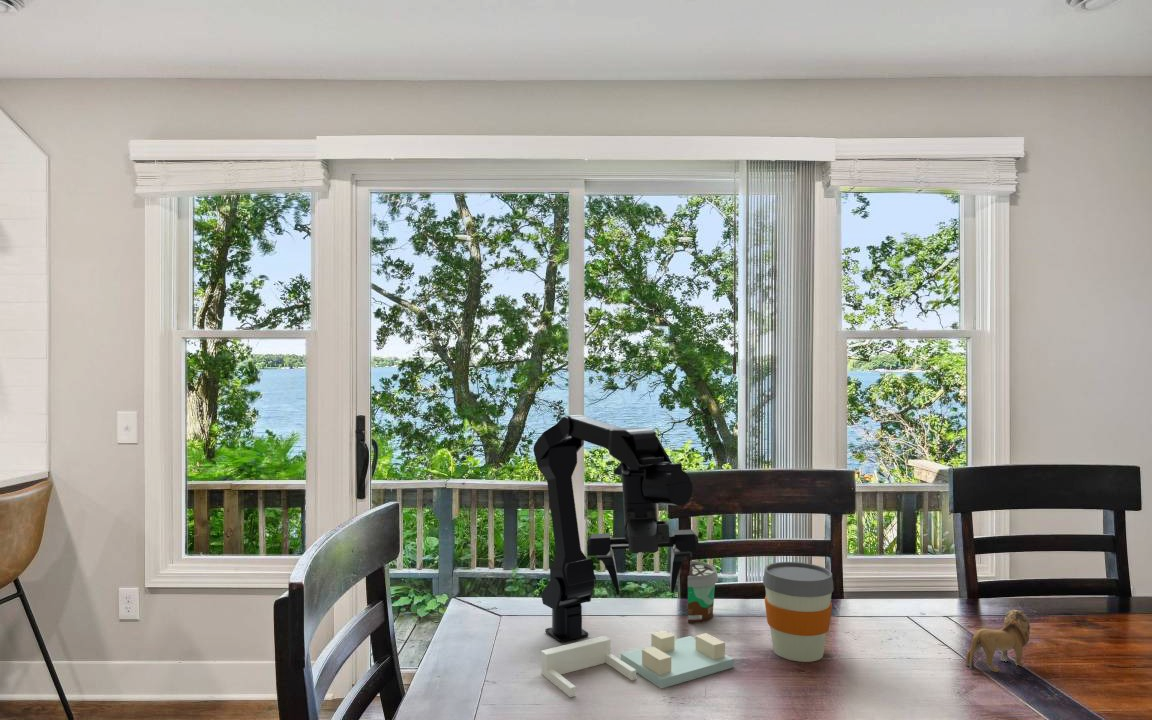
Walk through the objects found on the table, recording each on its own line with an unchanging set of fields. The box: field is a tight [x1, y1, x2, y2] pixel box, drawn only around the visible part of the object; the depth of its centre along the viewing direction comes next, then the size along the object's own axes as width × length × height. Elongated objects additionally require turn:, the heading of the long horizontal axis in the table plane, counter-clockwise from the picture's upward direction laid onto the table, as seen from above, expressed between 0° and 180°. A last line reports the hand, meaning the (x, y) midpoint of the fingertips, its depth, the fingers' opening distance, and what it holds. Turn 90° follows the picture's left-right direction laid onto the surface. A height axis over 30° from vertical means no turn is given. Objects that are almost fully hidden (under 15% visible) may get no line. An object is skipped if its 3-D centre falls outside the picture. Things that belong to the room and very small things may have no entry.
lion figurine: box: [965, 609, 1031, 673], centre depth 126 cm, size 15×5×9 cm, turn 116°
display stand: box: [620, 629, 735, 689], centre depth 126 cm, size 12×16×4 cm
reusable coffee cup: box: [762, 561, 834, 663], centre depth 132 cm, size 13×12×15 cm
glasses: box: [540, 635, 637, 698], centre depth 122 cm, size 10×13×4 cm
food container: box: [687, 560, 719, 624], centre depth 150 cm, size 12×6×10 cm, turn 168°
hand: (645, 593), depth 121 cm, fingers open, 9 cm apart
